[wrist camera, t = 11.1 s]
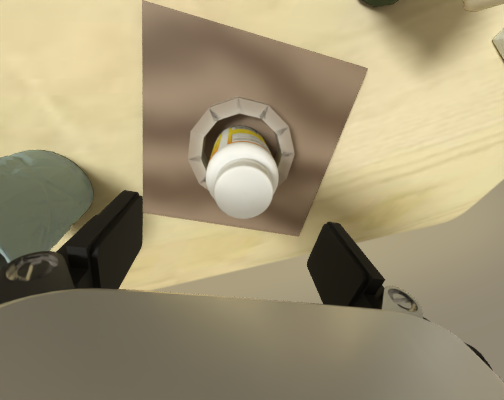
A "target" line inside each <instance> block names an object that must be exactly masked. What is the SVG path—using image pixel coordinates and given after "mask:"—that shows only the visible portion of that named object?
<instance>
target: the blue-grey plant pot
mask: <svg viewBox="0 0 504 400" xmlns="http://www.w3.org/2000/svg"><path fill="white" fill-rule="evenodd" d="M92 200H93V189H92V185H91V183H90V181H89V179H88V178H87V176H86V175H85V173H84V172H83V171H82V170H81V169H80V168H79V167H78V166H77V165H76V164H74V163H73V162H72V161H71V160H69V159H67V158H65V157H63V156H61V155H59V154H55V153H54V152H50V151H49V152H46V151H45V150H28V151H23V152H19V153H15V154H12V155H10V156H4V157H1V158H0V270H1V269H2V268H3V267H4V266H5V265H6V264H8V263H9V262H10V261H12V260H14V259H16V258H18V257H20V256H23V255H26V254H29V253H34V252H39V251H50V249H51V248H52V247H53V246H54V245H56V244H57V243H58V241H59V240H60V239H61V238H62V237H63V236H64V234H65V233H66V232H67V231H68V230H70V226H71V224H74V223H76V222H77V221H78V220H79V218H80V217H81V216H82V215H83V214H84V213H85V212H86V211H87V210H88V208H89V207H90V205H91V203H92Z"/></svg>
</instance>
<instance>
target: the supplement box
mask: <svg viewBox="0 0 504 400" xmlns="http://www.w3.org/2000/svg"><path fill="white" fill-rule="evenodd" d="M493 43H494V44H495V46H496V47H497V49H498V51H499V52H500V54H501V56H502V57H503V59H504V28H503V29H502V30H501V31H500V32H499V33H498V34H497V36H496V37H495V38H494V39H493Z"/></svg>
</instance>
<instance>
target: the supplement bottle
mask: <svg viewBox="0 0 504 400" xmlns="http://www.w3.org/2000/svg"><path fill="white" fill-rule="evenodd" d="M278 180H279V174H278V168H277V165H276V162H275V160H274V158H273V157H272V155H271V153H270V151H269V149H268V147H267V145H266V143H265V141H264V139H263V138H262V136H261V135H260V134H259V133H258V132H257V131H256V130H254V129H253V128H251V127H248V126H244V125H236V126H232V127H229V128H227V129H225V130H224V131H223V132H222V133H221V134H220V135H219V136H218V138H217V140H216V142H215V144H214V148H213V151H212V154H211V157H210V160H209V163H208V167H207V171H206V184H207V187H208V190H209V192H210V194H211V196H212V197H213V198H214V199H215V201H216V203H217V205H218V207H219V208H220V209H221V210H222V211H223V212H224V213H226V214H227V215H229V216H231V217H234V218H239V219H248V218H252V217H255V216H258V215H259V214H261V213H262V212H264V211H265V210H266V209H267V208H268V206H269V205H270V203H271V201H272V197H273V194H274V193H275V191H276V188H277V185H278Z"/></svg>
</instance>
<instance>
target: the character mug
mask: <svg viewBox="0 0 504 400" xmlns="http://www.w3.org/2000/svg"><path fill="white" fill-rule="evenodd" d="M363 1H365V2H366V3H368V4H370V5H372V6H374V7H378V6H385V5H392V4H394V3H395V2H397V1H398V0H363ZM501 4H504V0H464V7H465V10H467V11H474V12H477V11H480V10H484V9H487V8H490V7H494V6H497V5H501Z"/></svg>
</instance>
